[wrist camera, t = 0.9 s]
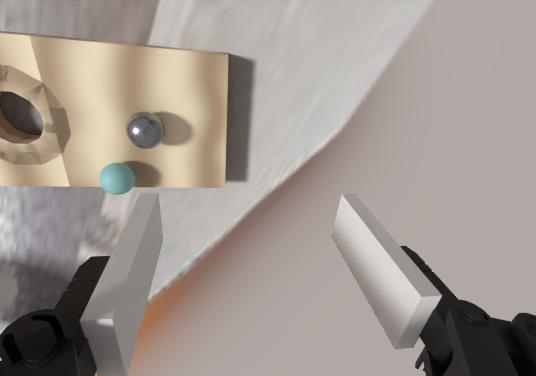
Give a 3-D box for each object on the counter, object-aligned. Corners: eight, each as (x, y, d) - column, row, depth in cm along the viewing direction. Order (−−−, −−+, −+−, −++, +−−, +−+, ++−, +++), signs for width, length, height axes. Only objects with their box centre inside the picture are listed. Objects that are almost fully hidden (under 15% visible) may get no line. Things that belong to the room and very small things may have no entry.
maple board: (227, 53, 26) (228, 54, 24) (224, 177, 32) (224, 187, 30) (-84, 22, 22) (-117, 21, 20) (-20, 173, 28) (-40, 185, 26)
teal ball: (136, 158, 27) (128, 171, 24) (140, 185, 28) (132, 200, 26) (102, 157, 26) (90, 170, 24) (108, 185, 28) (97, 200, 25)
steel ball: (166, 108, 25) (160, 118, 23) (169, 142, 27) (163, 155, 24) (128, 106, 25) (117, 115, 22) (133, 141, 26) (123, 153, 23)
